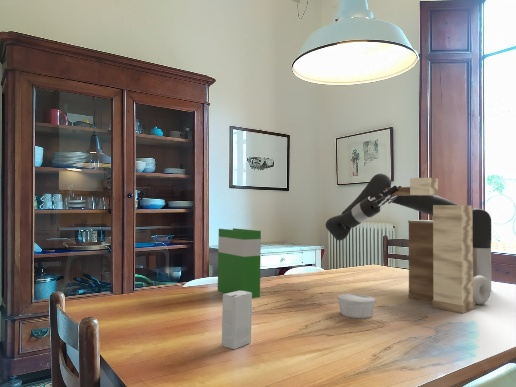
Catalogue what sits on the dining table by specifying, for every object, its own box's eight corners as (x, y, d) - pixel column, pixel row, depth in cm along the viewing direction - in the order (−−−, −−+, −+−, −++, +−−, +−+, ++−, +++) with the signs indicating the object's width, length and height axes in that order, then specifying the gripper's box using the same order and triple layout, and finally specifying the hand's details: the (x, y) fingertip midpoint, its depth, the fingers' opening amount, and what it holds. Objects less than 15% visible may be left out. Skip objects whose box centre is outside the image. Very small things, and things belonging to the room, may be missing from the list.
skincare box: (238, 339, 95) (239, 289, 96) (252, 343, 93) (253, 292, 93) (220, 346, 91) (221, 293, 91) (234, 350, 88) (235, 296, 88)
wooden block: (444, 303, 136) (444, 205, 138) (474, 308, 129) (473, 205, 130) (432, 307, 130) (431, 205, 131) (462, 313, 123) (461, 205, 124)
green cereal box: (217, 290, 152) (218, 228, 153) (233, 288, 156) (234, 228, 157) (243, 299, 137) (244, 231, 138) (259, 297, 142) (260, 230, 143)
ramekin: (376, 312, 123) (376, 295, 124) (374, 321, 113) (374, 303, 113) (340, 308, 127) (340, 292, 127) (335, 317, 117) (335, 299, 117)
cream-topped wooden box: (412, 291, 154) (412, 219, 156) (450, 295, 148) (450, 220, 149) (408, 297, 144) (408, 220, 145) (448, 302, 137) (448, 221, 138)
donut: (475, 307, 131) (475, 277, 131) (465, 305, 134) (465, 275, 134) (492, 304, 136) (492, 275, 136) (482, 301, 139) (482, 273, 139)
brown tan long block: (392, 195, 155) (392, 180, 155) (438, 195, 141) (437, 178, 142) (382, 195, 150) (382, 179, 150) (429, 194, 137) (429, 177, 137)
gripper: (351, 201, 157) (385, 178, 146) (371, 202, 166) (404, 180, 155) (359, 218, 154) (394, 195, 143) (379, 217, 163) (413, 196, 152)
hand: (399, 187), depth 149 cm, fingers closed on brown tan long block, 3 cm apart
